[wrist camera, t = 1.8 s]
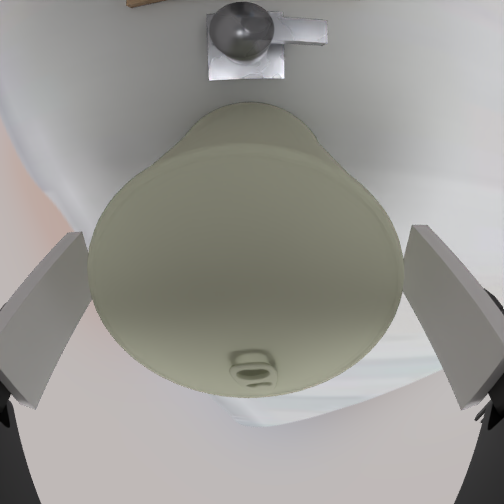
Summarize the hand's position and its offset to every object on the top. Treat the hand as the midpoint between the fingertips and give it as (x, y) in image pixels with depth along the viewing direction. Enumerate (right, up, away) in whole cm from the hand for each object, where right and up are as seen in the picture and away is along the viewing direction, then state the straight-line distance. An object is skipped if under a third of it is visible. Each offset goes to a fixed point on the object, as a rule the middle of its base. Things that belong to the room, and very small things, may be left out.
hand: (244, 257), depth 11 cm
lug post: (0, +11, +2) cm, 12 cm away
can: (0, +5, +7) cm, 8 cm away
